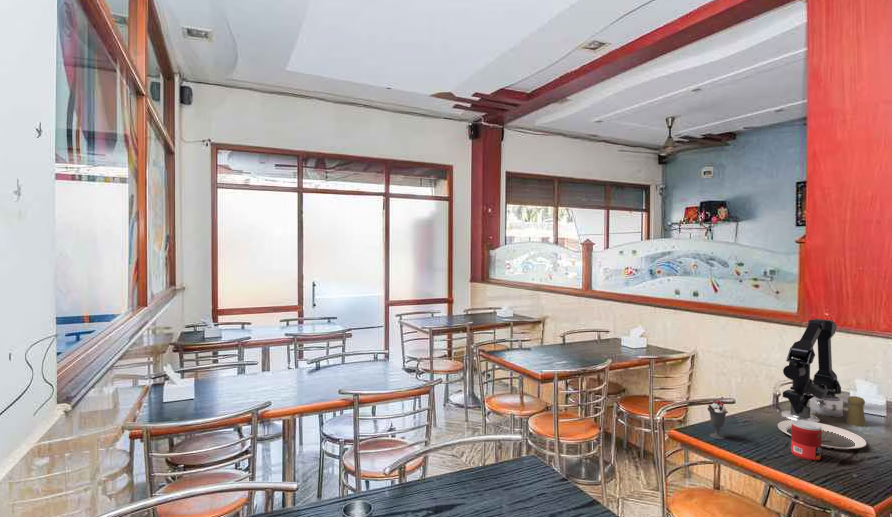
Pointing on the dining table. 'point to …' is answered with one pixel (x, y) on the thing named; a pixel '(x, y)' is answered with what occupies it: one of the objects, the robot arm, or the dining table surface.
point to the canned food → (806, 440)
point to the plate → (855, 438)
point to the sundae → (717, 418)
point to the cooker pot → (827, 406)
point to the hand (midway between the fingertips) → (800, 412)
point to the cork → (856, 411)
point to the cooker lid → (800, 414)
